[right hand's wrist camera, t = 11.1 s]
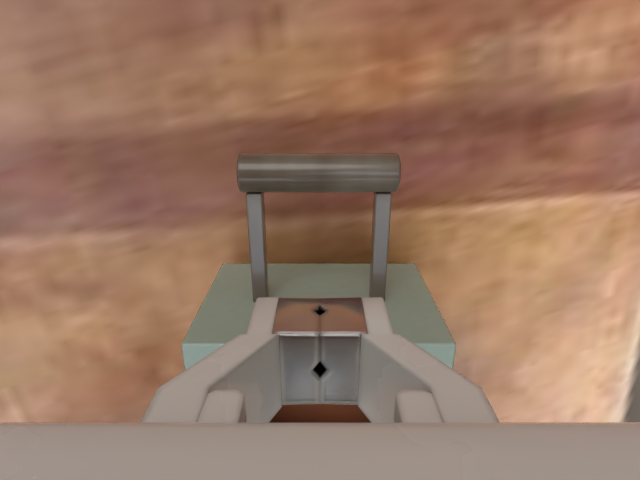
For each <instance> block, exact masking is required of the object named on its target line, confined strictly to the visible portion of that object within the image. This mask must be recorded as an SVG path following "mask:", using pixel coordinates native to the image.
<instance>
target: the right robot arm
mask: <svg viewBox="0 0 640 480" xmlns="http://www.w3.org/2000/svg"><path fill="white" fill-rule="evenodd" d="M298 404H342V405H358V407H359V408H360V409H361V411H362V412H363V413H364V414H365V416H366V417H367V418H368V419H369V420H370V422H371V423H269V422H270V421H271V420H272V418H273V417H274V416H275V415H276V413H277V412H278V411H279V410H280V409H281V407H282V405H298ZM0 480H640V423H500V422H499V420H498V419H497V417H496V415H495V413H494V411H493V409H492V407H491V405H490V403H489V401H488V399H487V397H486V395H485V393H484V391H483V390H482V388H481V387H479V386H478V385H476V384H475V383H473V382H472V381H470V380H469V379H467V378H466V377H464V376H463V375H461V374H460V373H458V372H457V371H455V370H454V369H452V368H450V367H449V366H447V365H446V364H444V363H443V362H441V361H440V360H438V359H437V358H435V357H434V356H432V355H431V354H429V353H428V352H426V351H425V350H423V349H422V348H420V347H419V346H417V345H416V344H414V343H413V342H411V341H410V340H408V339H407V338H405V337H403V336H402V335H400V334H393V330H392V327H391V323H390V320H389V316H388V313H387V310H386V306H385V303H384V299H383V298H382V297H367V298H361V297H354V298H285V297H280V298H278V297H259V298H257V299H256V302H255V306H254V309H253V313H252V316H251V320H250V323H249V327H248V330H247V333H246V334H240V335H238V336H237V337H235V338H233V339H232V340H230V341H229V342H227V343H226V344H224V345H223V346H221V347H220V348H218V349H217V350H215V351H214V352H212V353H211V354H209V355H208V356H206V357H205V358H203V359H201V360H200V361H198V362H197V363H195V364H194V365H192V366H191V367H189V368H188V369H186V370H185V371H183V372H182V373H180V374H179V375H177V376H176V377H174V378H173V379H171V380H169V381H168V382H166V383H165V384H163V385H162V386H160V387H159V388H158V390H157V392H156V394H155V396H154V398H153V400H152V401H151V403H150V405H149V407H148V409H147V411H146V413H145V415H144V417H143V419H142V420H141V422H140V423H0Z"/></svg>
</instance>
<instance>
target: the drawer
mask: <svg viewBox="0 0 640 480" xmlns="http://www.w3.org/2000/svg"><path fill="white" fill-rule="evenodd" d="M400 176H401V165H400V158H399V155H398V154H396V153H241V154H239V156H238V160H237V181H238V187H239V189H240V191H241V192H247V194H246V204H247V219H248V234H249V249H250V264H222V266H221V268H220V270H219V272H218V274H217V276H216V278H215V280H214V282H213V284H212V286H211V288H210V290H209V292H208V294H207V296H206V298H205V299H204V301H203V303H202V305H201V307H200V309H199V311H198V313H197V315H196V317H195V319H194V321H193V323H192V325H191V327H190V329H189V331H188V332H187V334H186V336H185V338H184V340H183V342H182V352H183V359H184V366H185V370H186V369H188V368H189V367H191V366H192V365H194V364H195V363H197V362H198V361H200V360H201V359H203V358H205V357H206V356H208V355H209V354H211V353H212V352H214V351H215V350H217V349H218V348H220V347H221V346H223V345H224V344H226V343H227V342H229V341H230V340H232V339H233V338H235V337H237V336H238V335H240V334H246V333H247V330H248V327H249V323H250V320H251V316H252V313H253V309H254V306H255V302H256V299H257V298H259V297H278V298H280V297H285V298H354V297H361V298H367V297H382V298H383V299H384V303H385V306H386V310H387V313H388V316H389V320H390V323H391V327H392V330H393V334H400V335H402V336H403V337H405V338H407V339H408V340H410V341H411V342H413V343H414V344H416V345H417V346H419V347H420V348H422V349H423V350H425V351H426V352H428V353H429V354H431V355H432V356H434V357H435V358H437V359H438V360H440V361H441V362H443V363H444V364H446V365H447V366H449V367H450V368H452V369H453V362H454V355H455V348H456V343H455V341H454V339H453V337H452V335H451V333H450V331H449V329H448V327H447V325H446V323H445V321H444V319H443V318H442V316H441V314H440V312H439V310H438V308H437V306H436V304H435V302H434V300H433V298H432V296H431V294H430V292H429V290H428V288H427V286H426V284H425V282H424V280H423V278H422V276H421V274H420V272H419V270H418V268H417V267H416V265H415V264H387V259H388V244H389V229H390V213H391V198H392V195H391V193H390V192H397V191H398V188H399V184H400ZM264 192H374V200H373V221H372V241H371V262H370V264H267V248H266V228H265V208H264ZM269 423H371V422H370V420H369V419H368V418H367V417H366V416H365V414H364V413H363V412H362V411H361V409H360V408H359V407H358V405H342V404H298V405H282V407H281V409H280V410H279V411H278V412H277V413H276V415H275V416H274V417H273V418H272V420H271V421H270V422H269Z"/></svg>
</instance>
